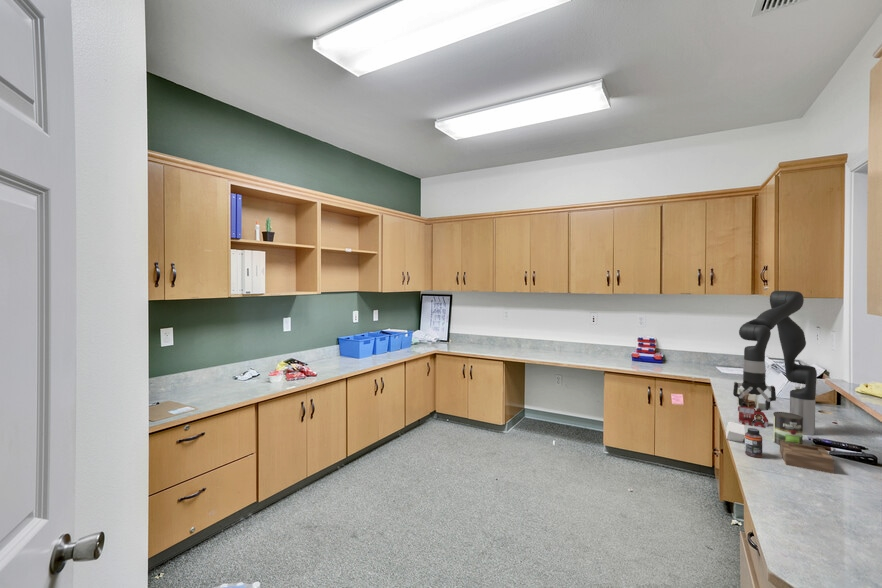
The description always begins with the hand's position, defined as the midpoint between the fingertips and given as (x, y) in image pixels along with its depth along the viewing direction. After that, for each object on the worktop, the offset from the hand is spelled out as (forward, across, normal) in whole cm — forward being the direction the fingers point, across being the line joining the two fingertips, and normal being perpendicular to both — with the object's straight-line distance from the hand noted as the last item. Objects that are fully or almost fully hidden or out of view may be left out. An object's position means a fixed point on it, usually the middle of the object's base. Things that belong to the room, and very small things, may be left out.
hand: (753, 408), depth 169 cm
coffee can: (+20, -15, -22) cm, 34 cm away
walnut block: (+21, -17, -2) cm, 27 cm away
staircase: (+21, -6, -75) cm, 78 cm away
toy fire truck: (+20, -5, -44) cm, 49 cm away
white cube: (+20, +5, -15) cm, 26 cm away
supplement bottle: (+21, 0, 0) cm, 21 cm away
